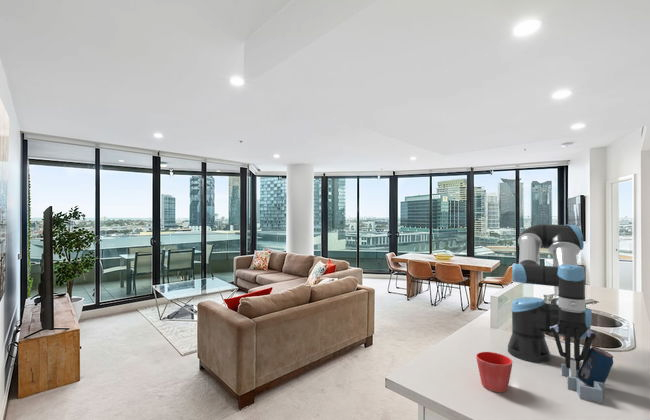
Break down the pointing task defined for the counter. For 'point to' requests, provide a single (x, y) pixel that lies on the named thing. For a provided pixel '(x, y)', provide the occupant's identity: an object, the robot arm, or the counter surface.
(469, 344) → the counter surface
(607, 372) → the soda can
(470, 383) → the counter surface
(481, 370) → the flower pot
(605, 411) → the counter surface
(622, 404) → the counter surface
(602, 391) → the channel
